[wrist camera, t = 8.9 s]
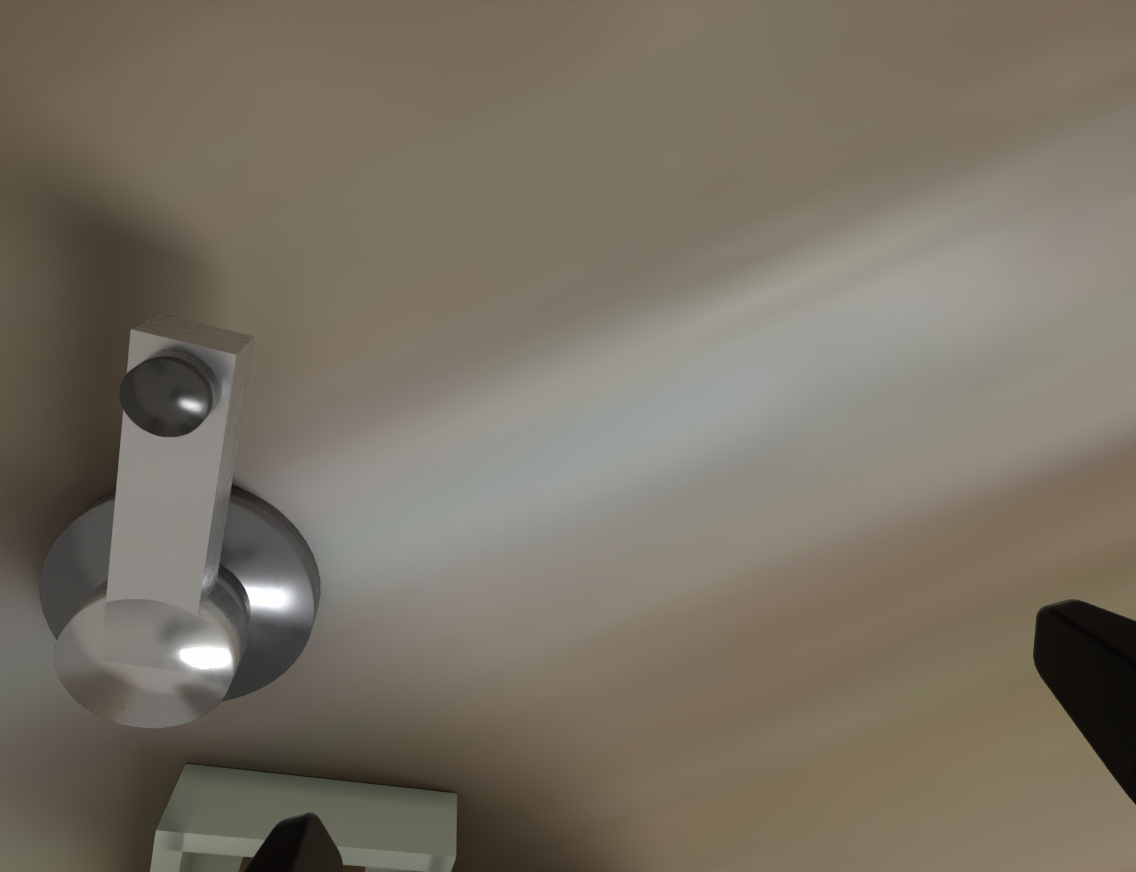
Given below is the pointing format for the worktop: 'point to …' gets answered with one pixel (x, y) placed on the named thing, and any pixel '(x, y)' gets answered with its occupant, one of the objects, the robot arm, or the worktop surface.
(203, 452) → the crank
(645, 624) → the worktop surface
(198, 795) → the tray
